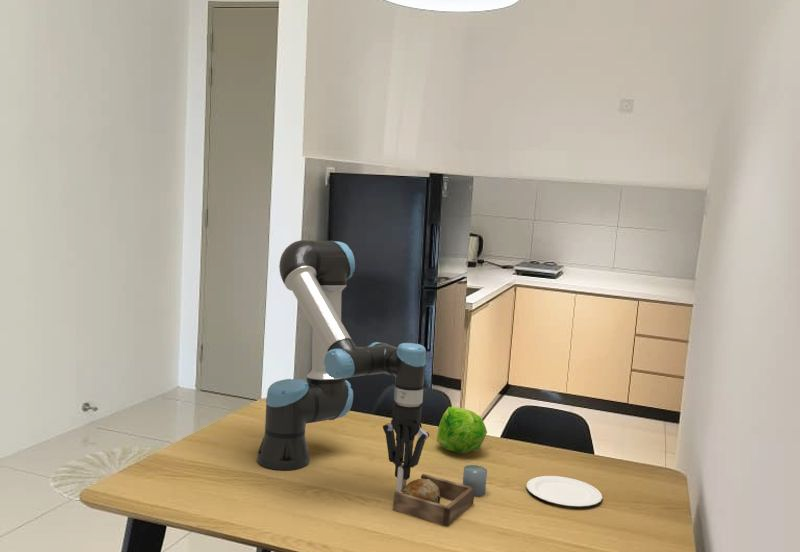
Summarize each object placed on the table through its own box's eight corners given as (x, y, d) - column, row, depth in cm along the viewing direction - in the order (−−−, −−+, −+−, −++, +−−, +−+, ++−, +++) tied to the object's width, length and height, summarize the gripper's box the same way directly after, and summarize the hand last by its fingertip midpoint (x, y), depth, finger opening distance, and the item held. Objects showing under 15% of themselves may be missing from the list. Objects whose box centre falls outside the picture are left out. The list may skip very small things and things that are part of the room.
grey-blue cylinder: (458, 492, 196) (460, 469, 195) (467, 485, 201) (469, 463, 201) (479, 498, 193) (481, 475, 192) (488, 491, 198) (490, 468, 198)
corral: (392, 509, 182) (394, 492, 181) (422, 489, 196) (423, 473, 195) (447, 526, 174) (448, 508, 174) (473, 504, 189) (474, 487, 188)
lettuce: (469, 440, 242) (484, 404, 239) (479, 470, 223) (495, 432, 220) (429, 427, 240) (443, 392, 237) (434, 457, 221) (450, 419, 218)
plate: (603, 489, 207) (604, 484, 207) (599, 517, 187) (600, 511, 187) (531, 475, 214) (532, 470, 213) (520, 501, 194) (520, 495, 194)
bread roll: (431, 525, 182) (446, 499, 181) (396, 505, 183) (411, 479, 182) (432, 509, 192) (447, 484, 191) (399, 490, 192) (414, 465, 192)
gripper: (379, 401, 187) (372, 488, 189) (423, 411, 181) (416, 500, 183) (393, 395, 194) (387, 479, 196) (436, 404, 187) (429, 491, 190)
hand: (401, 489), depth 189 cm, fingers closed
